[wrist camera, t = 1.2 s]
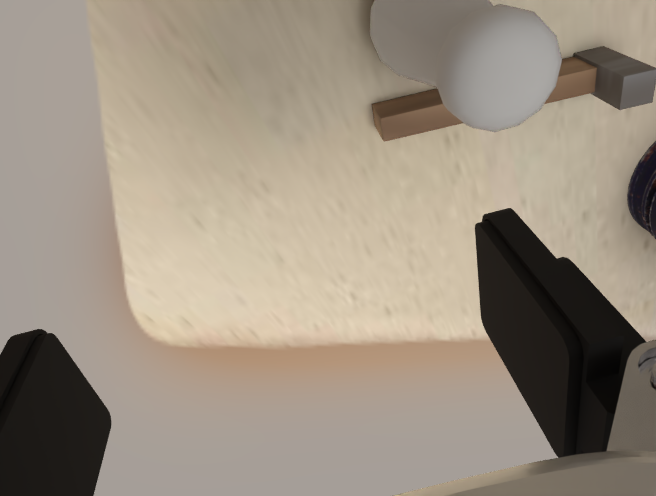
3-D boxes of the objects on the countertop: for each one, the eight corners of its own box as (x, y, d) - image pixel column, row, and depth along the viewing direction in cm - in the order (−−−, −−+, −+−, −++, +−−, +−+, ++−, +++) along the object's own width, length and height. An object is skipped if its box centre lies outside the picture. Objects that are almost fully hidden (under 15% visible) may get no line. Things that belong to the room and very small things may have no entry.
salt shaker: (480, -33, 28) (626, 10, 17) (444, 74, 31) (550, 168, 20) (376, -59, 27) (464, -31, 16) (350, 56, 30) (408, 145, 19)
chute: (340, -106, 25) (359, -107, 21) (626, -174, 25) (700, -188, 21) (375, 129, 32) (394, 162, 28) (600, 76, 32) (652, 102, 28)
